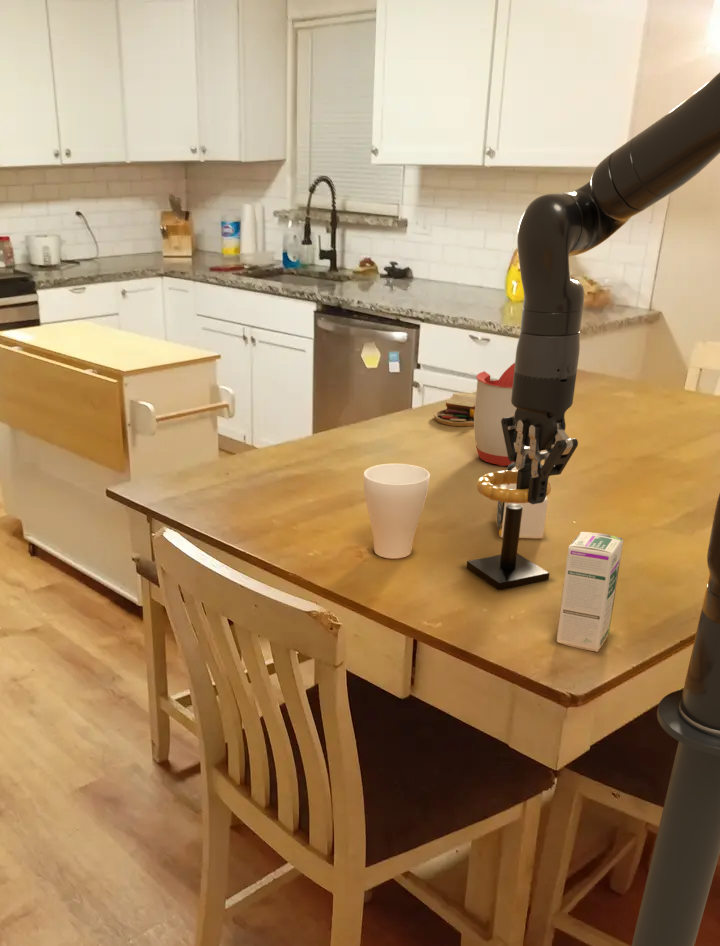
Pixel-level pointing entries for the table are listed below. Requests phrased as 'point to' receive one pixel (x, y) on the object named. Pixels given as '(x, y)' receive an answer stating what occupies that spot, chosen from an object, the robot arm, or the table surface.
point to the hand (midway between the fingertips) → (530, 499)
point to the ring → (503, 494)
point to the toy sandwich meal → (458, 410)
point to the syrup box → (589, 590)
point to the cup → (395, 506)
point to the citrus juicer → (493, 416)
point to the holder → (508, 558)
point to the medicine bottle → (524, 514)
